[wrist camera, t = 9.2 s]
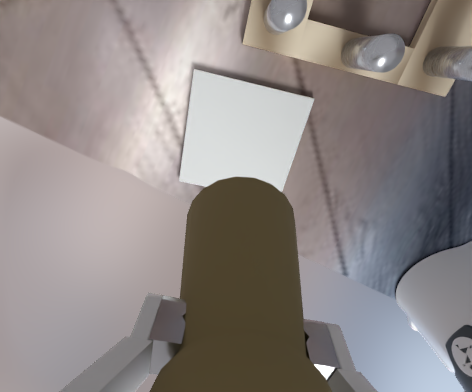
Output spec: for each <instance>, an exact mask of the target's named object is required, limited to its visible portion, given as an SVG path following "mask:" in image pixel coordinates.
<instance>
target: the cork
mask: <svg viewBox="0 0 472 392" xmlns="http://www.w3.org/2000/svg"><path fill="white" fill-rule="evenodd" d="M180 299H184V300H185V301H186V314H185V315H184V317H183V319H184V321H185V330H184V334H183V339H182V344H181V348H180V350H179V352H178V353H177V354H176V355H175V356H174V357H173V358H172V359H171V360H170V361H169V362H168V363H167V364H166V365H165V366H164V367H163V368H161V370H160V372H159V374H158V376H157V378H156V380H155V382H154V384H153V386H152V388H151V390H150V392H332V390H331V388H330V386H329V384H328V382H327V380H326V378H325V377H324V376H323V374H322V373H321V372H320V371H319V370H318V368H317V367H316V366H315V365H314V364H313V363H312V362H311V361H310V360H309V359H308V358H307V355H306V345H305V344H306V342H305V333H304V323H303V320H304V319H303V308H302V297H301V285H300V274H299V262H298V250H297V239H296V227H295V219H294V213H293V208H292V206H291V204H290V203H289V201H288V199H287V198H286V196H285V195H284V194H283V193H282V192H281V191H279V190H278V189H277V188H276V187H274V186H273V185H272V184H270V183H267V182H265V181H262V180H259V179H257V178H251V177H237V176H236V177H231V178H227V179H222V180H218V181H216V182H214V183H213V184H211V185H209V186H207V187H206V188H204V189H203V190H202V191H201V192H200V193H199V194H198V195H197V196H196V198H195V199H194V200H193V201H192V204H191V206H190V209H189V212H188V214H187V224H186V235H185V247H184V258H183V269H182V281H181V292H180Z"/></svg>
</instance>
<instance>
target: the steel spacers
mask: <svg viewBox="0 0 472 392" xmlns="http://www.w3.org/2000/svg"><path fill="white" fill-rule="evenodd" d="M306 11H307V0H271V2H270V4H269V5H268V7H267V9H266V11H265V13H264V25H265V28H266V29H267V31H268V32H270V33H271V34H273V35H280V34H282V33H285V32H287V31H289V30H291V29H293V28H295V27H297V26H298V25H299V24H300V23H301V22H302V21H303V19H304V17H305V14H306ZM404 53H405V43H404V41H403V39H402V38H401V37H400V36H399V35H397V34H384V35H376V36H368V37H360V38H354V39H351V40H350V41H348V42H347V43H346V44H345V46H344V47H343V49H342V52H341V60H342V63H343V64H344V65H345V66H346V67H348V68H353V69H360V70H367V71H374V72H380V73H384V72H388V71H391V70H393V69H394V68H395V67H396V66H397V65H398V64H399V63H400V62H401V60H402V58H403V56H404ZM423 71H424V73H425V74H426V75H428V76H433V77H441V78H448V79H456V80H464V81H472V46H446V47H437V48H435V49H433V50H432V51H430V52H429V53H428V54H427V56H426V57H425V59H424V62H423Z"/></svg>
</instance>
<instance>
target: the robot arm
mask: <svg viewBox="0 0 472 392" xmlns="http://www.w3.org/2000/svg"><path fill="white" fill-rule="evenodd" d="M396 300H397V303H398V305H399V306H400V308H401V309H402V310H403V311H404V312H405V313H406V314H407V321H408V324H409V325H410V327H411V328H412V329H413V330H415V331H419V332H420V333H421V335H422V336H423V337H424V338H425V340H426V341H427V343H428V344H429V345H430V347H431V348H432V349H433V351H434V352H435V353H436V354H437V356H438V357H439V358H440V360H441V361H442V362H443V364H444V365H445V366H446V367H447V368H448V369H449V370H450V371H451V372H453V373H455V376H456V378H457V379H458V381H459V382H460V384H461V385H462V386H463V388H464V390H465V392H472V241H470V242H468V243H467V244H465V245H462V246H459V247H456V248H452V249H448V250H444V251H441V252H438V253H436V254H433V255H431V256H429V257H427V258H425V259H423V260H422V261H420V262H419V263H417V264H416V265H414V266H413V267H412V268H411V269H410V270H409V271H408V272H407V273H406V274H405V275H404V276H403V278H402V279H401V280H400V282H399V284H398V287H397V290H396ZM185 314H186V301H185V300H184V299H179V298H174V297H168V296H164V295H158V294H152V293H148V295H147V296H146V298H145V301H144V303H143V306H142V308H141V311H140V313H139V316H138V318H137V321H136V324H135V326H134V329H133V331H132V334H131V336H130V337H124V338H123V339H122V340H121V341H120V342H119V343H117V344H116V345H115V346H114V347H112V348H111V349H110V350H109V351H108V352H106V353H105V354H104V355H103V356H102V357H100V358H99V359H98V360H97V361H96V362H94V363H93V364H92V365H91V366H90V367H88V368H87V369H86V370H85V371H84V372H83V373H81V374H80V375H79V376H78V377H76V378H75V379H74V380H73V381H71V382H70V383H69V384H68V385H67V386H65V387H64V388H63V389H62V390H61V391H59V392H135V391H136V390H137V388H138V387H139V386H140V385H141V384H142V383H143V382H144V380H145V379H146V378H147V377H148V376H149V374H157V375H158V374H159V372H160V370H161V368H163V367H164V366H165V365H166V364H167V363H168V362H169V361H170V360H171V359H172V358H173V357H174V356H175V355H176V354H177V353H178V352H179V350H180V348H181V344H182V339H183V334H184V330H185V321H184V319H183V317H184V315H185ZM303 323H304V333H305V342H306V344H305V345H306V355H307V358H308V359H309V360H310V361H311V362H312V363H313V364H314V365H315V366H316V367H317V368H318V370H319V371H320V372H321V373H322V374H323V376H324V377H325V378H326V380H327V382H328V384H329V386H330V388H331V390H332V392H377V390H376V389H375V388H374V387H373V386H372V385H371V384H370V383H369V381H368V380H367V379H366V378H365V377H364V376H363V375H362V373H361V372H357V371H356V369H355V366H354V364H353V361H352V358H351V356H350V353H349V350H348V347H347V344H346V342H345V339H344V336H343V334H342V331H341V328H340V327H339V325H336V324H330V323H324V322H319V321H314V320H307V319H304V320H303Z"/></svg>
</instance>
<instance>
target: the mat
mask: <svg viewBox="0 0 472 392" xmlns="http://www.w3.org/2000/svg"><path fill="white" fill-rule="evenodd" d="M313 102H314V98H311V97H307V96H303V95H299V94H295V93H291V92H286V91H282V90H278V89H274V88H270V87H266V86H262V85H258V84H254V83H250V82H246V81H242V80H238V79H234V78H230V77H226V76H222V75H218V74H214V73H210V72H206V71H202V70H198V69H194V72H193V80H192V87H191V95H190V102H189V110H188V117H187V125H186V132H185V140H184V147H183V155H182V162H181V170H180V177H179V181H181V182H186V183H191V184H196V185H200V186H205V187H207V186H209V185H211V184H213V183H214V182H216V181H218V180H222V179H227V178H231V177H236V176H237V177H251V178H257V179H259V180H262V181H265V182H267V183H270V184H272V185H273V186H274V187H276V188H277V189H278V190H279V191H281V192H282V190H283V187H284V184H285V182H286V179H287V176H288V173H289V170H290V167H291V164H292V162H293V159H294V156H295V153H296V150H297V147H298V144H299V142H300V139H301V136H302V133H303V130H304V127H305V124H306V122H307V119H308V116H309V113H310V110H311V107H312V104H313Z"/></svg>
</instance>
